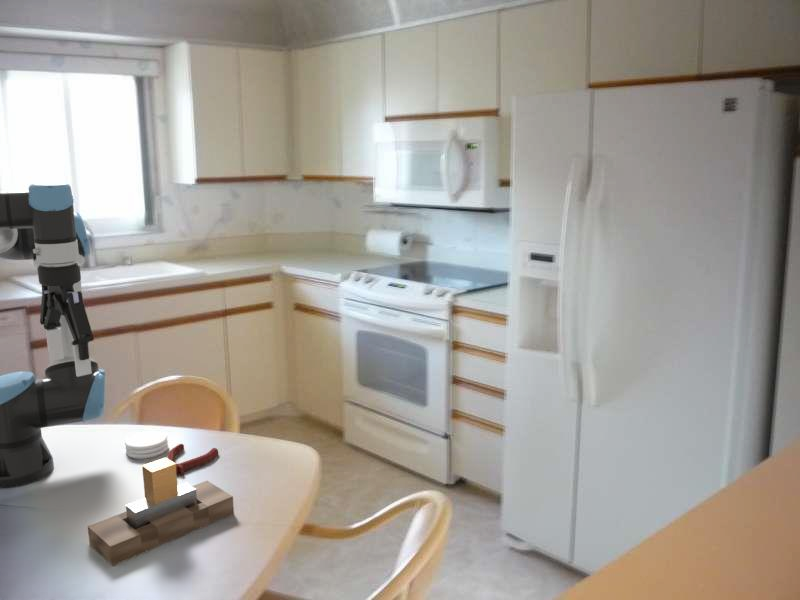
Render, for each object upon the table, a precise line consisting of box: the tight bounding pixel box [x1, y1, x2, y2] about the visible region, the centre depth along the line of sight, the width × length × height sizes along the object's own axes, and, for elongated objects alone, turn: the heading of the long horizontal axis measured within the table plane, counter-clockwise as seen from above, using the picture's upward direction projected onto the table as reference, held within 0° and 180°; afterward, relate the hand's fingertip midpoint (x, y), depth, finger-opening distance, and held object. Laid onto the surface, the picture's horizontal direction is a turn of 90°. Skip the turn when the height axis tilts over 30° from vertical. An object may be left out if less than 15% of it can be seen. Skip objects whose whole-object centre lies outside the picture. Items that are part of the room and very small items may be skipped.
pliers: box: [167, 443, 219, 477], centre depth 172 cm, size 12×20×3 cm, turn 165°
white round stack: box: [124, 430, 169, 460], centre depth 182 cm, size 10×10×4 cm
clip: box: [125, 457, 197, 529], centre depth 145 cm, size 4×13×14 cm, turn 135°
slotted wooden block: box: [87, 480, 235, 567], centre depth 146 cm, size 10×26×4 cm, turn 135°
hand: (69, 367), depth 146 cm, fingers open, 13 cm apart
